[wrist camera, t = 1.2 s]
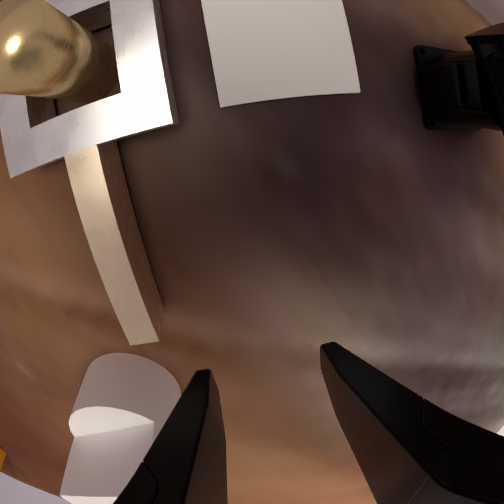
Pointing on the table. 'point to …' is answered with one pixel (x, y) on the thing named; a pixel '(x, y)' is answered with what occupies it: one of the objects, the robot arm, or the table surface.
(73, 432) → the base with upright slab
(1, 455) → the packaging box
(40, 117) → the square frame with handle
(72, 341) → the table surface
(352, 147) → the table surface
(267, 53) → the white flat square block
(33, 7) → the brown mottled cylinder
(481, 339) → the table surface
